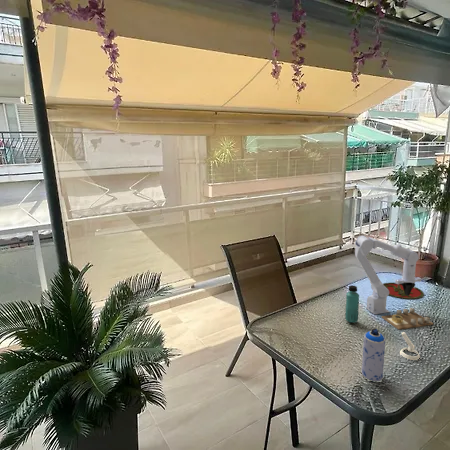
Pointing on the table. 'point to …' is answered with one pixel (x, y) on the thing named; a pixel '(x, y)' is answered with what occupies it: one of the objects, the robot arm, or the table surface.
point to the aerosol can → (373, 355)
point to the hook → (411, 348)
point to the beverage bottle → (352, 304)
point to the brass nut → (397, 318)
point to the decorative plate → (398, 292)
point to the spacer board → (408, 319)
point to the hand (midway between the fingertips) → (407, 294)
